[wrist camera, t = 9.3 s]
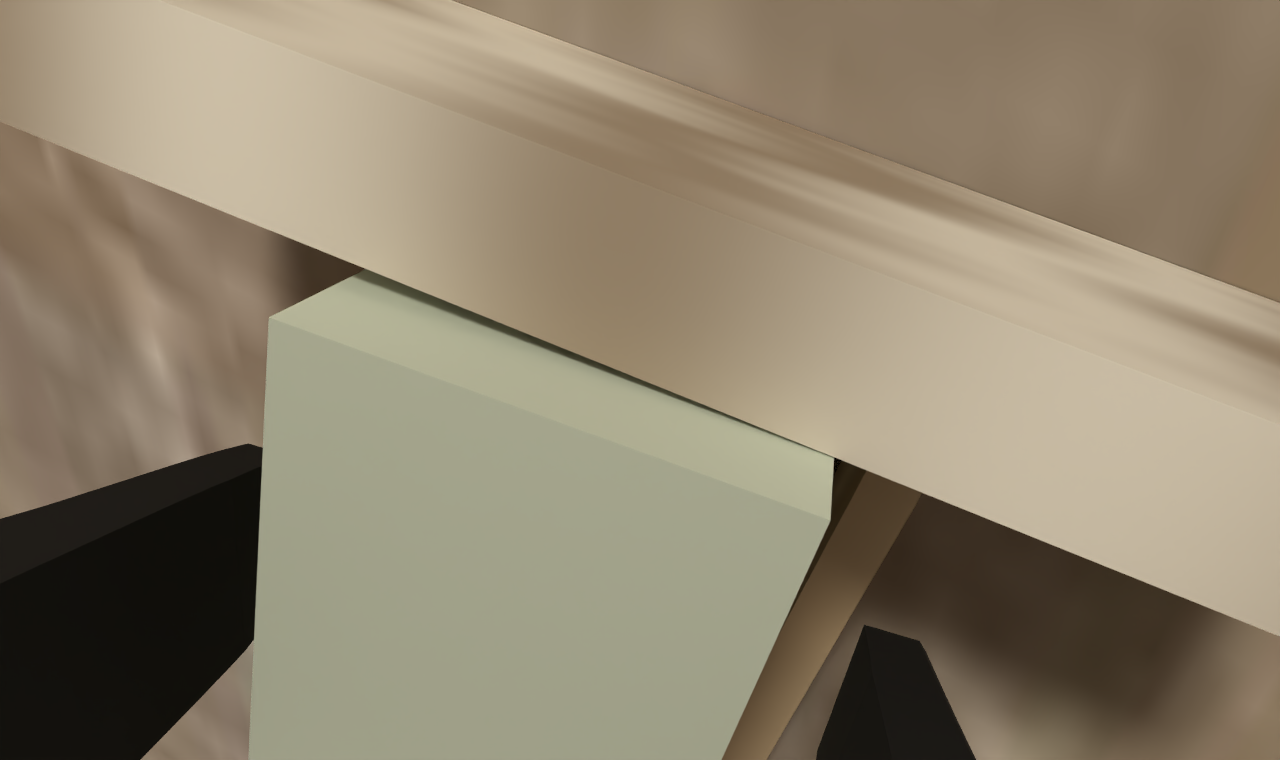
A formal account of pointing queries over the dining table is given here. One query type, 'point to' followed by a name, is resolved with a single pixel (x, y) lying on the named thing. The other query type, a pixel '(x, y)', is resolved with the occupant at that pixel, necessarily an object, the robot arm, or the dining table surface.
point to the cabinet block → (507, 544)
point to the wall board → (714, 276)
